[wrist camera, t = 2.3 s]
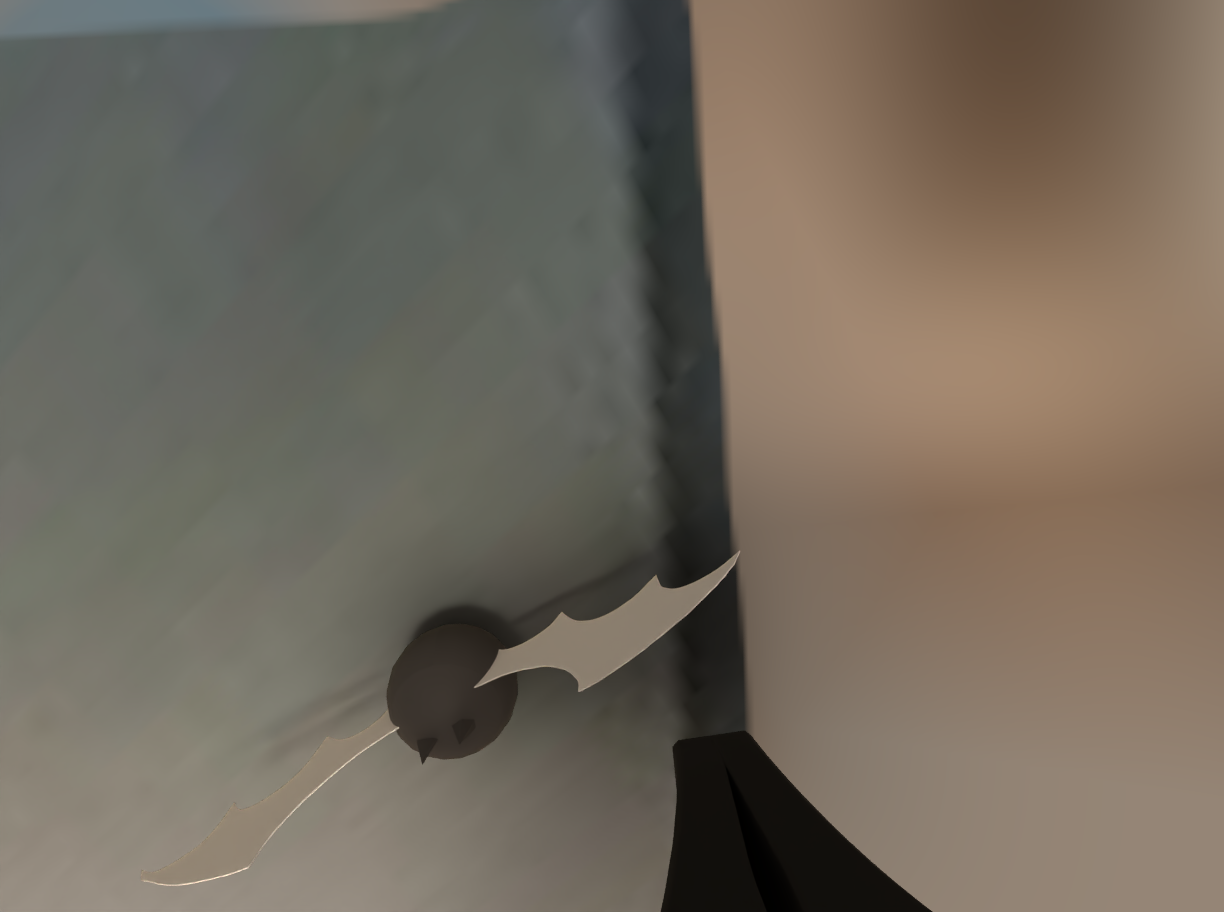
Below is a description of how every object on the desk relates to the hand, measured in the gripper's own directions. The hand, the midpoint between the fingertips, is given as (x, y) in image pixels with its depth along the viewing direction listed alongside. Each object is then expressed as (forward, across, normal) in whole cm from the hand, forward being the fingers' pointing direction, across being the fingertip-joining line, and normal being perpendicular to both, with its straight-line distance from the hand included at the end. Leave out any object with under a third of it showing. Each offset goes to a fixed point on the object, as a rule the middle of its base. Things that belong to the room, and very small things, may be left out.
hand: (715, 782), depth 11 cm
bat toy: (+6, +5, 0) cm, 8 cm away
